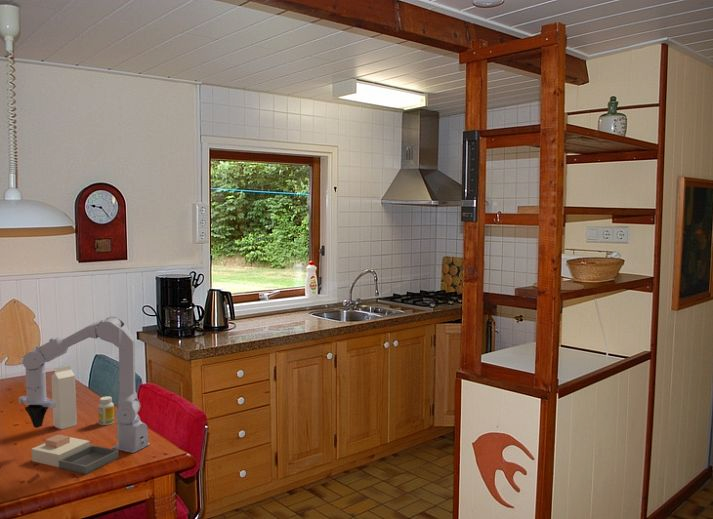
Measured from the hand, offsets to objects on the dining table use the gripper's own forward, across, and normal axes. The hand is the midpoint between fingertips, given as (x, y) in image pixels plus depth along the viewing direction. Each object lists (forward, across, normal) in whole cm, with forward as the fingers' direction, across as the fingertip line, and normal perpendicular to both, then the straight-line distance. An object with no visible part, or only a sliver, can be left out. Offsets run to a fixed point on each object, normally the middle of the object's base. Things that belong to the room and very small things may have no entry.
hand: (37, 426), depth 198 cm
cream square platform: (+9, +10, 0) cm, 13 cm away
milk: (+9, -12, +21) cm, 26 cm away
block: (+5, +8, 0) cm, 10 cm away
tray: (+8, +22, 0) cm, 24 cm away
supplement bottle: (+9, 0, +29) cm, 30 cm away
